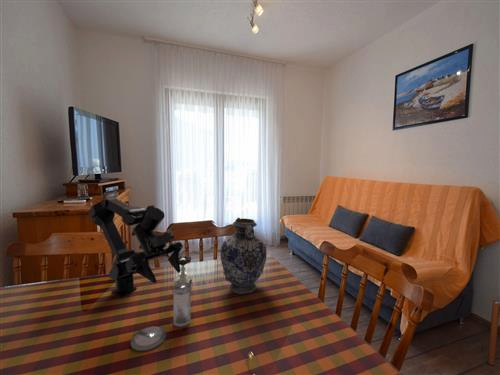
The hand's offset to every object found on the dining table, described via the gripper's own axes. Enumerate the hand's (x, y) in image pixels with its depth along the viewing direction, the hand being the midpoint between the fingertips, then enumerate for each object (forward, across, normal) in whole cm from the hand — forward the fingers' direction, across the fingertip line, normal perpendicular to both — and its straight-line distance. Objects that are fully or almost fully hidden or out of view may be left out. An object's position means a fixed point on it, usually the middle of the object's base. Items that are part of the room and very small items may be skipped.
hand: (168, 277), depth 75 cm
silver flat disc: (+12, -10, +6) cm, 17 cm away
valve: (+2, +15, +16) cm, 22 cm away
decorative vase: (+16, +29, +2) cm, 33 cm away
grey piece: (+14, 0, +4) cm, 14 cm away
